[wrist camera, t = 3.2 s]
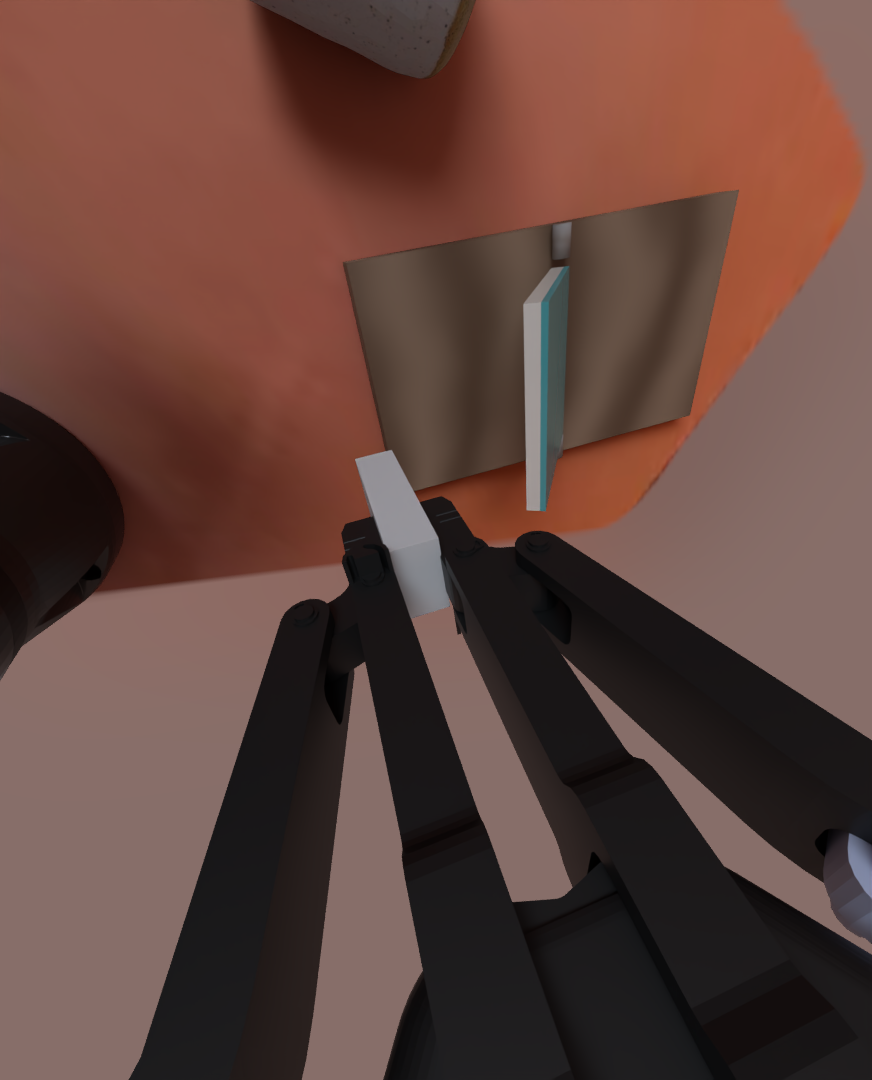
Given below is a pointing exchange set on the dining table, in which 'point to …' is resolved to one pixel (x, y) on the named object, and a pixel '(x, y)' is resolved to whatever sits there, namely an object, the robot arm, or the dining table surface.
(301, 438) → the dining table surface
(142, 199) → the dining table surface
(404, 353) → the hinge board
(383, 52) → the ceramic mug
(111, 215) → the dining table surface
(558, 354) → the tile
